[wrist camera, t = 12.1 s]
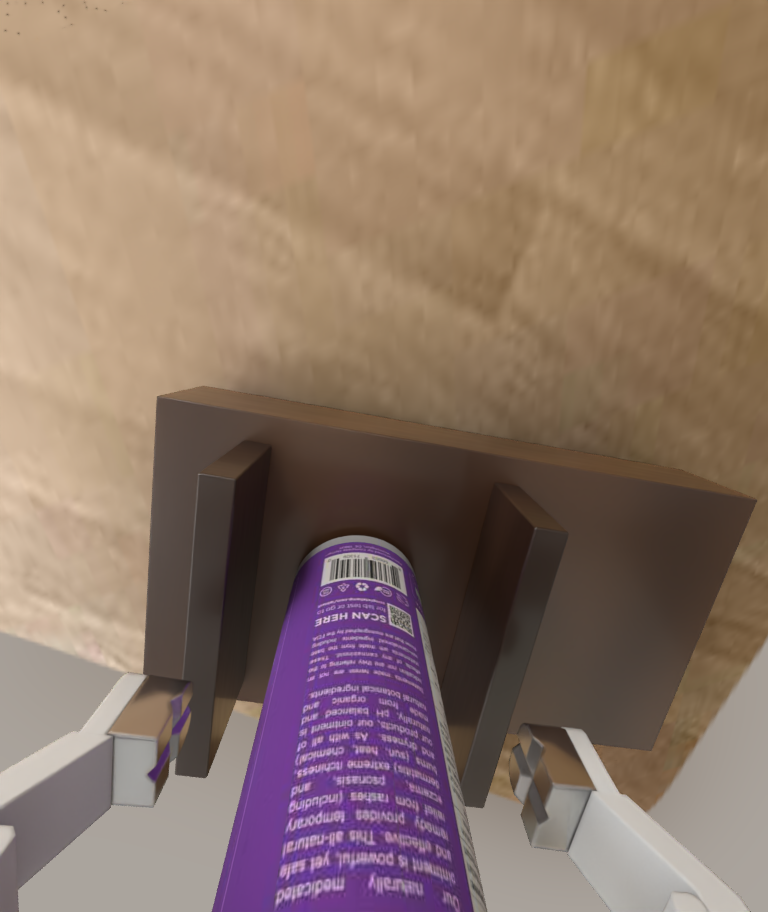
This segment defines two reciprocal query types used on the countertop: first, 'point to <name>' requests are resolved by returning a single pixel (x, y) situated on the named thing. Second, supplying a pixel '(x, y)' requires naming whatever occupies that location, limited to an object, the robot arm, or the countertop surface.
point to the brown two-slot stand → (433, 565)
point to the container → (352, 755)
